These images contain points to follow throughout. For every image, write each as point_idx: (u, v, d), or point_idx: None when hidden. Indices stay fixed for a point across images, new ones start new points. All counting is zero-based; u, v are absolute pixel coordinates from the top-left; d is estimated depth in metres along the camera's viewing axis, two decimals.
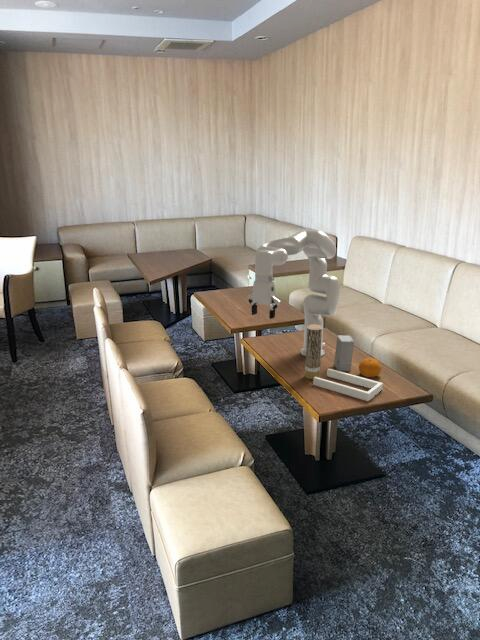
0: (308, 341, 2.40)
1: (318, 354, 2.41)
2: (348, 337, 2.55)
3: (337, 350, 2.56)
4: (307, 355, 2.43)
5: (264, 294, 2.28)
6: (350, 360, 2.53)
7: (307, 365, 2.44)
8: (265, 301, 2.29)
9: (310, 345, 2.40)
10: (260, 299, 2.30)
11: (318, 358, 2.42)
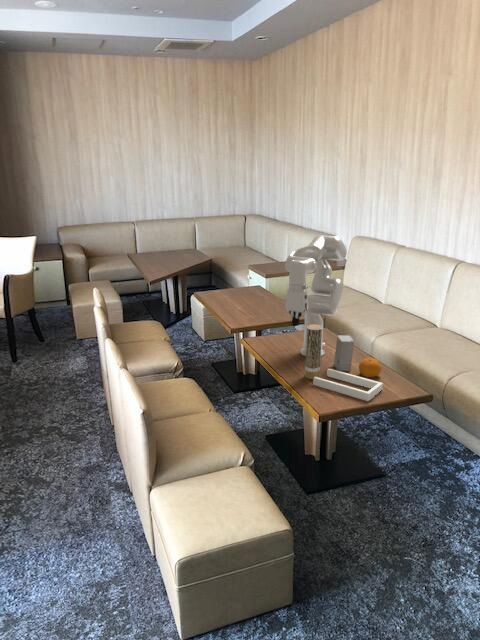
0: (308, 341, 2.40)
1: (318, 354, 2.41)
2: (348, 337, 2.55)
3: (337, 350, 2.56)
4: (307, 355, 2.43)
5: (297, 302, 2.40)
6: (350, 360, 2.53)
7: (307, 365, 2.44)
8: (298, 309, 2.40)
9: (310, 345, 2.40)
10: (293, 306, 2.42)
11: (318, 358, 2.42)
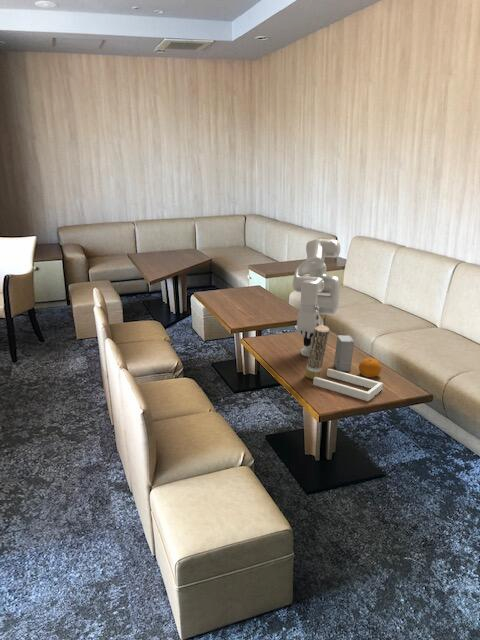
0: (313, 342, 2.38)
1: (322, 355, 2.40)
2: (348, 337, 2.55)
3: (337, 350, 2.56)
4: (310, 355, 2.41)
5: (309, 322, 2.38)
6: (350, 360, 2.53)
7: (309, 364, 2.43)
8: (310, 329, 2.39)
9: (315, 346, 2.38)
10: (305, 327, 2.40)
11: (321, 359, 2.41)
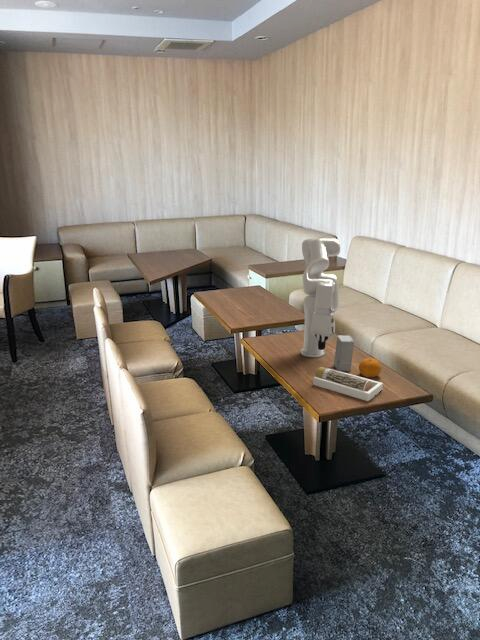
0: None
1: None
2: (348, 337, 2.55)
3: (337, 350, 2.56)
4: (336, 382, 2.34)
5: (324, 326, 2.34)
6: (350, 360, 2.53)
7: None
8: (324, 333, 2.35)
9: None
10: (320, 330, 2.36)
11: None
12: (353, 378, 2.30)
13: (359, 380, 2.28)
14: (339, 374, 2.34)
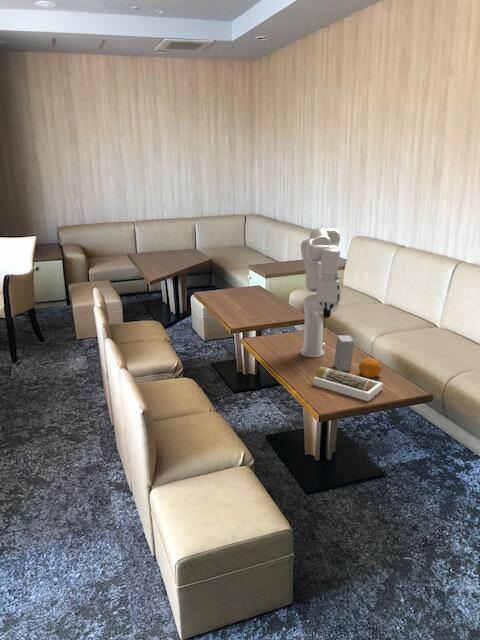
0: (351, 386, 2.30)
1: None
2: (348, 337, 2.55)
3: (337, 350, 2.56)
4: (337, 381, 2.34)
5: (330, 293, 2.28)
6: (350, 360, 2.53)
7: (327, 379, 2.37)
8: (330, 300, 2.29)
9: None
10: (325, 297, 2.30)
11: None
12: (354, 377, 2.31)
13: (360, 379, 2.29)
14: (340, 373, 2.35)
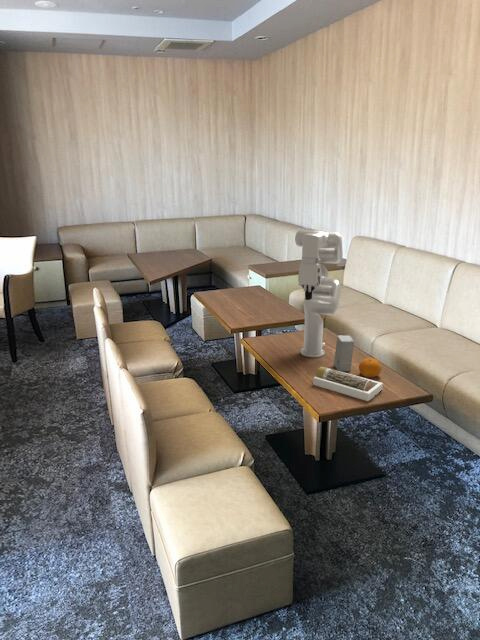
0: (351, 386, 2.30)
1: None
2: (348, 337, 2.55)
3: (337, 350, 2.56)
4: (337, 381, 2.34)
5: (311, 275, 2.40)
6: (350, 360, 2.53)
7: (327, 379, 2.37)
8: (311, 282, 2.41)
9: None
10: (306, 280, 2.42)
11: None
12: (354, 377, 2.31)
13: (360, 379, 2.29)
14: (340, 373, 2.35)
